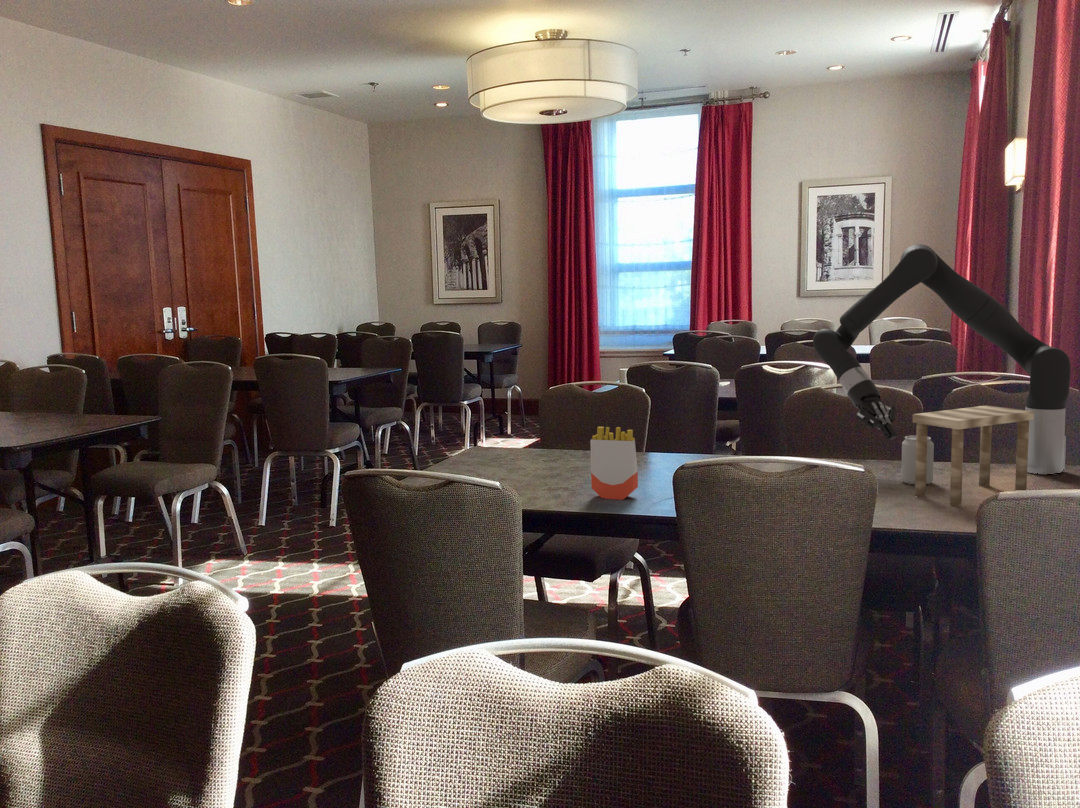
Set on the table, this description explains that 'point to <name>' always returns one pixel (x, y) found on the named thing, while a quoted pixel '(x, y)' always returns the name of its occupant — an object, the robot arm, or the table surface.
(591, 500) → the table surface
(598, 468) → the french fries container
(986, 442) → the stand
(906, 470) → the can
